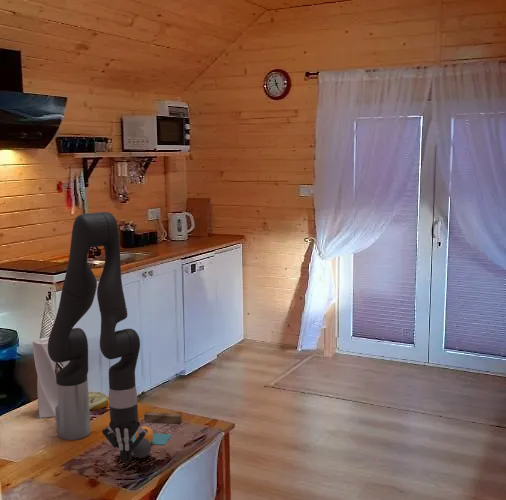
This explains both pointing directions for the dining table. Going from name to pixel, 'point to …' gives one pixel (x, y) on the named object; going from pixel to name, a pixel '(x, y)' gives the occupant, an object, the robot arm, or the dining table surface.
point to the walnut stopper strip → (162, 417)
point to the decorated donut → (97, 400)
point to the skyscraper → (45, 379)
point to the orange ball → (148, 436)
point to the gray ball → (142, 448)
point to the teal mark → (158, 439)
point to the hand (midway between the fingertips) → (126, 461)
